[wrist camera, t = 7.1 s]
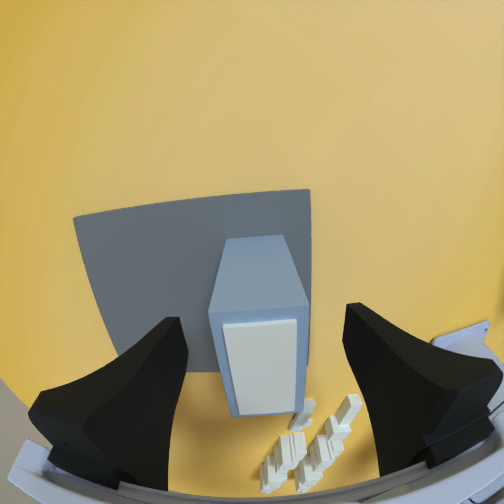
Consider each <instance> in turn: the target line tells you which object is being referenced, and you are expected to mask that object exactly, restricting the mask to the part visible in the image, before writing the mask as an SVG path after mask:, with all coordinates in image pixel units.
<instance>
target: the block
mask: <svg viewBox="0 0 504 504" xmlns="http://www.w3.org/2000/svg"><path fill="white" fill-rule="evenodd" d="M208 315H209V320H210V325H211V330H212V335H213V340H214V345H215V349H216V354H217V358H218V363H219V367H220V372H221V376H222V380H223V385H224V389H225V393H226V397H227V401H228V405H229V409H230V413H231V417H250V416H267V415H280V414H290V413H299V412H303V408H304V396H305V383H306V369H307V352H308V331H309V303H308V300H307V297H306V294H305V292H304V289H303V286H302V283H301V281H300V278H299V275H298V273H297V270H296V267H295V265H294V262H293V259H292V257H291V254H290V252H289V249H288V246H287V244H286V241H285V239H284V236H283V235H271V236H258V237H246V238H233V239H226V242H225V246H224V250H223V254H222V258H221V262H220V266H219V270H218V274H217V278H216V282H215V286H214V290H213V294H212V298H211V302H210V306H209V310H208Z"/></svg>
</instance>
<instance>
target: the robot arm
mask: <svg viewBox="0 0 504 504" xmlns="http://www.w3.org/2000/svg"><path fill="white" fill-rule="evenodd" d="M489 326H490V322H489V321H488V320H486V321H483V322H481V323H478V324H475V325H472V326H470V327H467V328H464V329H461V330H458V331H455V332H452V333H449V334H446V335H442V336H439V337H436V338H435V339H434V340H433V341H432V344H429V343H427V342H425V341H423V340H420V339H418V338H416V337H414V336H412V335H410V334H409V333H407V332H405V331H403V330H402V329H400V328H398V327H397V326H395V325H393V324H392V323H390V322H389V321H387V320H386V319H384V318H383V317H381V316H380V315H378V314H377V313H375V312H374V311H372V310H371V309H369V308H368V307H366V306H365V305H363V304H362V303H360V302H358V303H351V304H346V314H345V322H344V331H343V338H342V342H343V346H344V349H345V353H346V356H347V360H348V362H349V365H350V367H351V369H352V372H353V374H354V376H355V378H356V381H357V383H358V385H359V388H360V390H361V392H362V395H363V397H364V400H365V403H366V406H367V410H368V413H369V417H370V421H371V425H372V430H373V434H374V439H375V445H376V451H377V457H378V465H379V474H380V477H379V478H376V479H372V480H369V481H365V482H361V483H357V484H353V485H349V486H345V487H340V488H335V489H330V490H325V491H319V492H313V493H306V494H298V495H288V496H276V497H256V498H231V497H210V496H198V495H189V494H181V493H173V492H168V462H169V448H170V438H171V430H172V423H173V417H174V413H175V409H176V405H177V402H178V398H179V395H180V391H181V388H182V384H183V381H184V377H185V374H186V369H187V363H188V355H189V351H188V347H187V344H186V340H185V336H184V333H183V329H182V325H181V321H180V318H179V317H165V318H164V319H163V320H162V321H161V322H159V323H158V324H157V325H156V326H155V327H154V328H153V329H152V330H150V331H149V332H148V333H147V334H146V335H145V336H144V337H143V338H141V339H140V340H139V341H138V342H137V343H135V344H134V345H133V346H132V347H130V348H129V349H128V350H127V351H125V352H124V353H123V354H122V355H120V356H119V357H118V358H116V359H115V360H113V361H112V362H110V363H108V364H107V365H105V366H104V367H102V368H100V369H98V370H96V371H95V372H93V373H91V374H89V375H87V376H85V377H83V378H80V379H78V380H76V381H73V382H71V383H68V384H65V385H62V386H59V387H56V388H52V389H49V390H45V391H41V392H40V394H39V395H38V397H37V399H36V400H35V402H34V403H33V405H32V407H31V408H30V410H29V412H28V415H29V418H30V420H31V422H32V423H33V425H34V426H35V427H36V428H37V429H38V431H40V433H42V435H43V436H44V437H45V438H46V439H47V440H48V441H49V442H50V443H51V444H52V445H53V448H52V450H51V451H50V450H49V449H47V448H46V447H44V446H43V445H40V444H38V443H36V442H34V441H33V440H31V439H29V438H27V439H26V441H25V443H24V445H23V447H22V449H21V450H20V452H19V454H18V456H17V458H16V460H15V462H14V464H13V467H12V469H11V471H10V473H9V475H8V480H9V481H10V482H12V483H13V484H15V485H16V486H17V487H19V488H20V489H21V490H23V491H24V492H26V493H27V494H29V495H30V496H32V497H33V498H35V499H36V500H38V501H39V502H41V503H42V504H360V503H362V504H504V364H503V363H502V362H501V361H500V360H499V358H498V357H497V356H496V355H495V354H494V353H493V352H492V350H491V349H490V348H489V347H488V346H487V345H486V344H485V343H484V342H483V340H484V338H485V336H486V333H487V331H488V328H489Z"/></svg>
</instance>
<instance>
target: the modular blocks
mask: <svg viewBox="0 0 504 504" xmlns="http://www.w3.org/2000/svg"><path fill="white" fill-rule="evenodd" d="M361 406H362V402H361V399H360V397H359V394H350V395H347V396H346V398H345V400H344V402H343V404H342V406H341V407H340V409H339V411H338V413H337V414H336V415H331V416H329V417H328V419H327V421H326V423H325V424H324V425H325V429H326V433H325V434H324V435H317V436H316V437H315V439H314V442H313V443H312V444H311V445H310V447H309V450H310V455H306V454H307V450H306V443H305V437H304V433H293V434H289V436H280V437H279V439H278V443H277V444H275V446H274V448H273V449H274V456H267V457H266V459H265V461H264V464H262V466H261V467H260V492H262V493H265V494H270V493H271V492H272V491H273V490H274V489H279V488H280V487H281V486H282V483H284V482H285V481H286V480H287V472H288V471H289V470H294V478H295V487H296V492H299V491H301V493H305V492H306V491H307V490H308V489H309V488H310V487H313V486H314V485H315V484H316V482H318V481H319V480H320V479H321V478H322V477H323V474H322V472H323V471H324V470H325V469H326V468H327V467H330V466H331V465H332V464H333V462H334V461H335V458H336V457H339V455H340V454H341V453H342V452H343V451H344V448H343V444H342V440H344V439H346V438H347V436H348V435H349V433H350V432H351V429H350V423H351V422H352V420H353V419H354V417H355V416H356V414H357V413H358V411H359V409H360V408H361ZM315 407H316V404H315V401H314V399H304V408H303V412H299V413H297V414H296V416H295V418H294V419H292V420H291V422H290V424H289V428H290V431H301V430H302V429H303V427H309V426H310V424H311V423H312V419H309V417H310V415H311V414H312V412H313V410H314V408H315Z"/></svg>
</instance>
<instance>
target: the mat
mask: <svg viewBox="0 0 504 504" xmlns="http://www.w3.org/2000/svg"><path fill="white" fill-rule="evenodd" d="M73 222H74V226H75V231H76V235H77V239H78V243H79V247H80V251H81V255H82V258H83V262H84V265H85V269H86V272H87V275H88V279H89V282H90V285H91V288H92V291H93V294H94V297H95V300H96V302H97V305H98V308H99V311H100V313H101V316H102V319H103V321H104V324H105V326H106V329H107V331H108V333H109V336H110V338H111V341H112V343H113V345H114V347H115V350H116V352H117V354H118V356H120V355H122V354H123V353H124V352H125V351H127V350H128V349H129V348H130V347H132V346H133V345H134V344H135V343H137V342H138V341H139V340H140V339H141V338H143V337H144V336H145V335H146V334H147V333H148V332H149V331H150V330H152V329H153V328H154V327H155V326H156V325H157V324H158V323H159V322H161V321H162V320H163V319H164V318H165V317H179V318H180V321H181V325H182V329H183V333H184V336H185V340H186V344H187V347H188V351H189V355H188V363H187V369H186V372H220V367H219V363H218V358H217V354H216V349H215V345H214V340H213V335H212V330H211V325H210V320H209V315H208V310H209V306H210V302H211V298H212V294H213V290H214V286H215V282H216V278H217V274H218V270H219V266H220V262H221V258H222V254H223V250H224V246H225V242H226V239H233V238H246V237H258V236H271V235H283V236H284V239H285V241H286V244H287V246H288V249H289V252H290V254H291V257H292V259H293V262H294V265H295V267H296V270H297V273H298V275H299V278H300V281H301V283H302V286H303V289H304V292H305V294H306V297H307V300H308V303H309V331H308V352H307V365H308V357H309V338H310V314H311V204H310V190H309V189H301V190H283V191H269V192H255V193H243V194H232V195H222V196H212V197H203V198H194V199H186V200H178V201H170V202H162V203H155V204H148V205H141V206H135V207H128V208H122V209H116V210H110V211H104V212H99V213H93V214H88V215H83V216H77V217H75V218H73Z"/></svg>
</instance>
